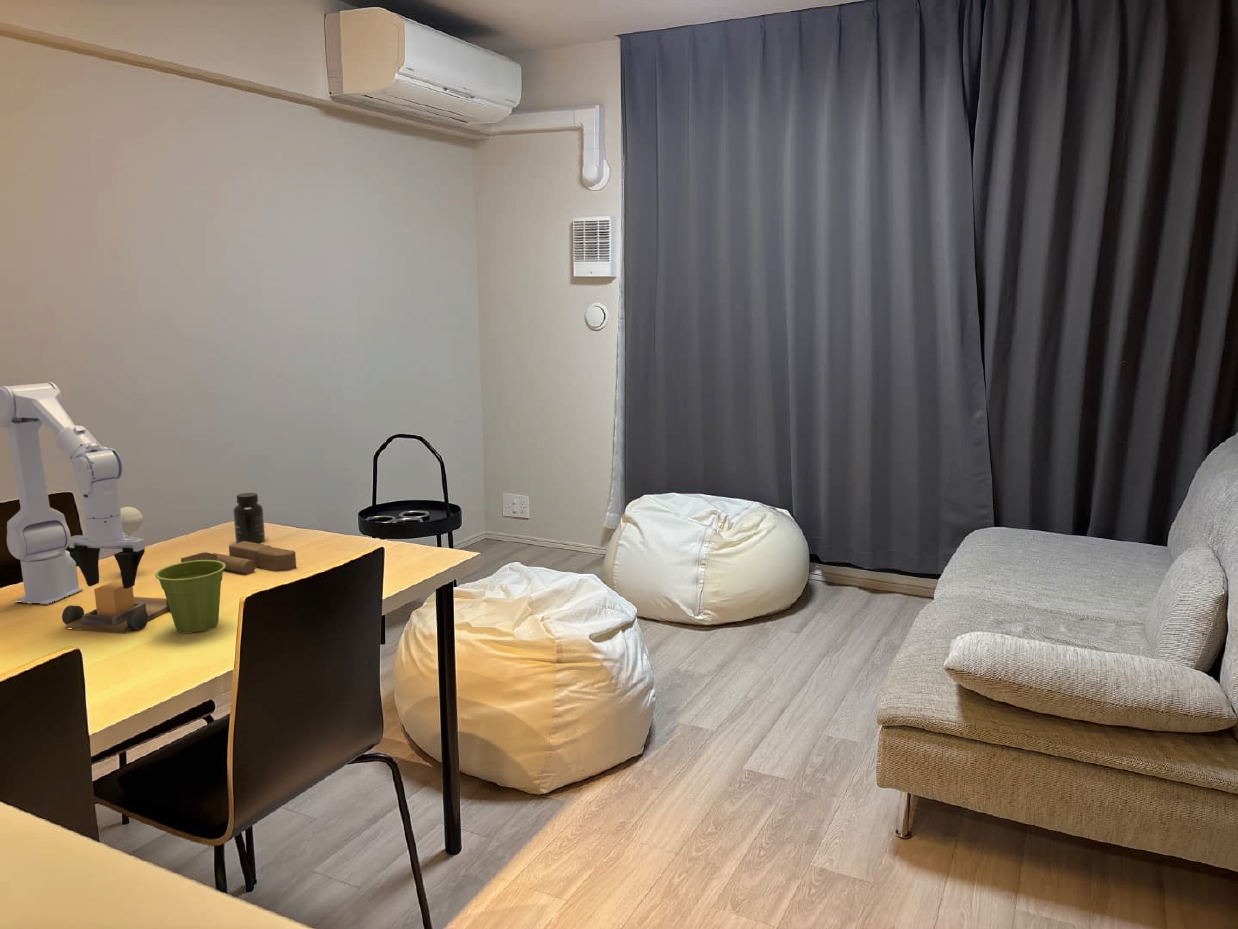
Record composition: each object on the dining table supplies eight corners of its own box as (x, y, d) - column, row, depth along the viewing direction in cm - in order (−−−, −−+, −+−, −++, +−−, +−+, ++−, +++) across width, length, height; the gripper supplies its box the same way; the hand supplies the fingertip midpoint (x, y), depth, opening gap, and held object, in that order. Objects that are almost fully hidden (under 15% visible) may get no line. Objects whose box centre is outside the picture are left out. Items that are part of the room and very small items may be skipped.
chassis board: (121, 600, 187) (119, 583, 186) (188, 604, 184) (186, 587, 183) (60, 629, 171) (57, 610, 171) (133, 633, 168) (130, 615, 168)
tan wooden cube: (116, 611, 178) (113, 581, 177) (135, 612, 177) (131, 582, 176) (97, 620, 173) (94, 589, 172) (116, 621, 172) (113, 590, 171)
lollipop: (112, 575, 203) (104, 509, 200) (134, 568, 209) (126, 503, 206) (133, 578, 201) (125, 511, 198) (155, 570, 207) (148, 505, 204)
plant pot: (180, 616, 178) (175, 559, 175) (241, 616, 177) (236, 559, 175) (148, 639, 166) (141, 578, 164) (213, 639, 166) (207, 579, 163)
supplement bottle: (230, 544, 227) (225, 497, 225) (245, 537, 234) (241, 491, 232) (256, 545, 226) (251, 497, 224) (270, 538, 233) (266, 491, 230)
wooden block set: (241, 535, 216) (296, 545, 207) (243, 559, 217) (298, 569, 208) (177, 553, 201) (233, 565, 193) (179, 578, 202) (235, 591, 194)
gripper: (152, 511, 173) (160, 581, 176) (84, 508, 176) (93, 577, 178) (126, 521, 166) (134, 593, 169) (56, 517, 169) (65, 588, 172)
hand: (111, 585), depth 173 cm, fingers open, 7 cm apart
